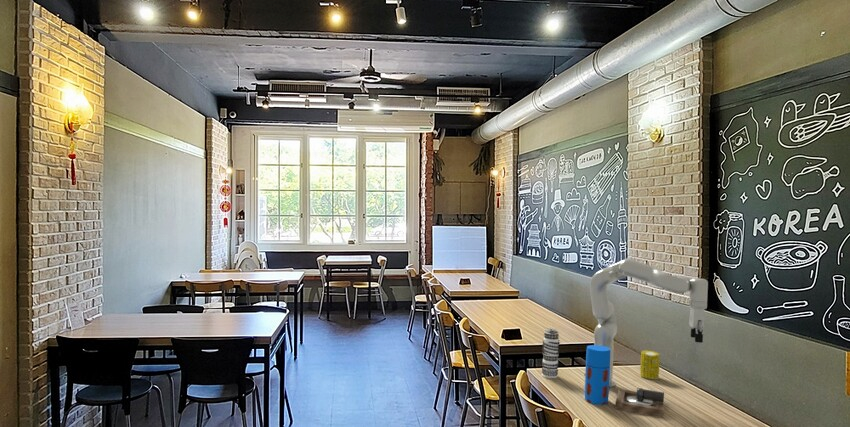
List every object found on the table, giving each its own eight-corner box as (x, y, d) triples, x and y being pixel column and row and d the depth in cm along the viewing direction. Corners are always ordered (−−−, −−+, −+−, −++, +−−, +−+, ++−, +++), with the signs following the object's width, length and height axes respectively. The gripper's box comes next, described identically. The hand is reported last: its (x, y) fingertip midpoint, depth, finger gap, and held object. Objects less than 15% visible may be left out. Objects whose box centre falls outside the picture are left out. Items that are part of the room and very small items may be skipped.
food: (657, 378, 297) (656, 385, 288) (635, 370, 302) (633, 376, 293) (665, 353, 295) (664, 358, 286) (643, 345, 300) (641, 350, 291)
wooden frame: (615, 409, 245) (615, 401, 245) (618, 395, 264) (618, 388, 264) (663, 417, 237) (663, 410, 237) (663, 402, 256) (663, 395, 256)
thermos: (596, 406, 248) (598, 352, 248) (579, 398, 258) (581, 346, 257) (613, 403, 253) (615, 349, 253) (596, 395, 263) (598, 344, 262)
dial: (625, 404, 248) (626, 390, 247) (627, 396, 258) (627, 383, 258) (663, 411, 241) (664, 396, 241) (663, 402, 252) (664, 389, 252)
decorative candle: (561, 375, 292) (563, 329, 291) (553, 379, 285) (555, 332, 284) (546, 371, 298) (548, 326, 297) (537, 375, 291) (539, 329, 290)
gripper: (686, 300, 269) (684, 335, 269) (693, 306, 252) (691, 343, 253) (702, 302, 267) (701, 336, 267) (711, 308, 250) (709, 345, 251)
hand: (696, 339), depth 260 cm, fingers open, 9 cm apart
